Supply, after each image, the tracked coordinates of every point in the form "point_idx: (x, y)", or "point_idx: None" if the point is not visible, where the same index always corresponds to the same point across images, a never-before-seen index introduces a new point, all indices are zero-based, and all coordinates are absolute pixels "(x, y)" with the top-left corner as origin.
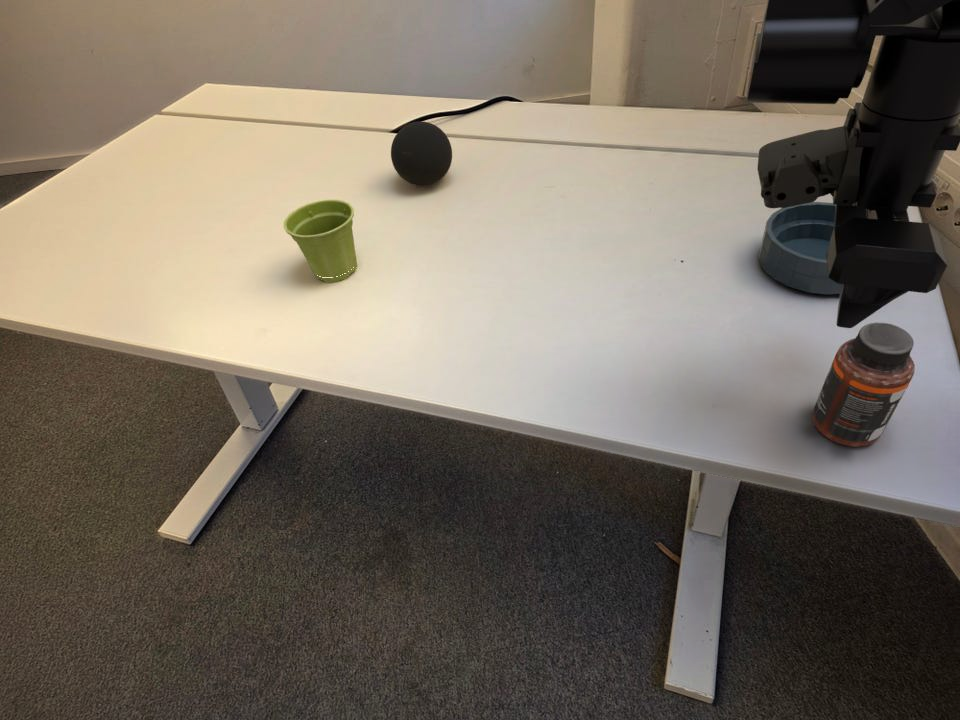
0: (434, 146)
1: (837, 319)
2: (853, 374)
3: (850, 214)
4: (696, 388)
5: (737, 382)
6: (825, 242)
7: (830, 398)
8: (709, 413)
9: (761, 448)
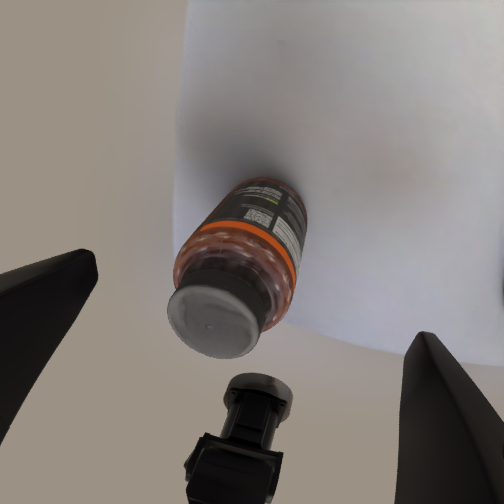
0: None
1: (60, 255)
2: (185, 245)
3: (451, 500)
4: (318, 20)
5: (341, 83)
6: None
7: (226, 203)
8: (264, 36)
9: (208, 104)
